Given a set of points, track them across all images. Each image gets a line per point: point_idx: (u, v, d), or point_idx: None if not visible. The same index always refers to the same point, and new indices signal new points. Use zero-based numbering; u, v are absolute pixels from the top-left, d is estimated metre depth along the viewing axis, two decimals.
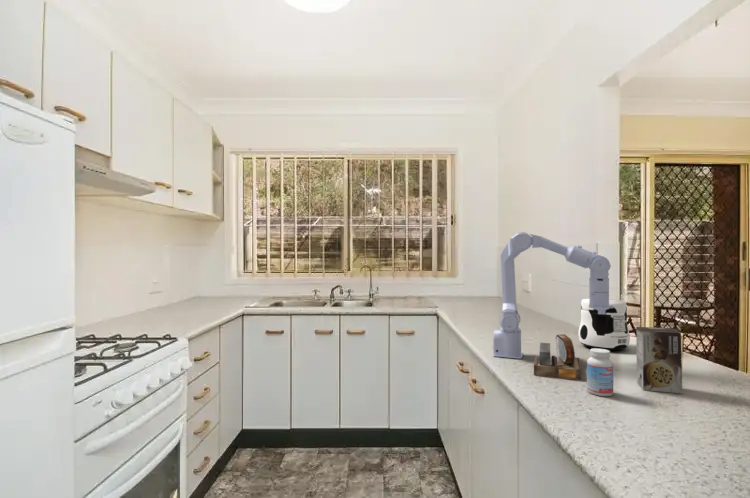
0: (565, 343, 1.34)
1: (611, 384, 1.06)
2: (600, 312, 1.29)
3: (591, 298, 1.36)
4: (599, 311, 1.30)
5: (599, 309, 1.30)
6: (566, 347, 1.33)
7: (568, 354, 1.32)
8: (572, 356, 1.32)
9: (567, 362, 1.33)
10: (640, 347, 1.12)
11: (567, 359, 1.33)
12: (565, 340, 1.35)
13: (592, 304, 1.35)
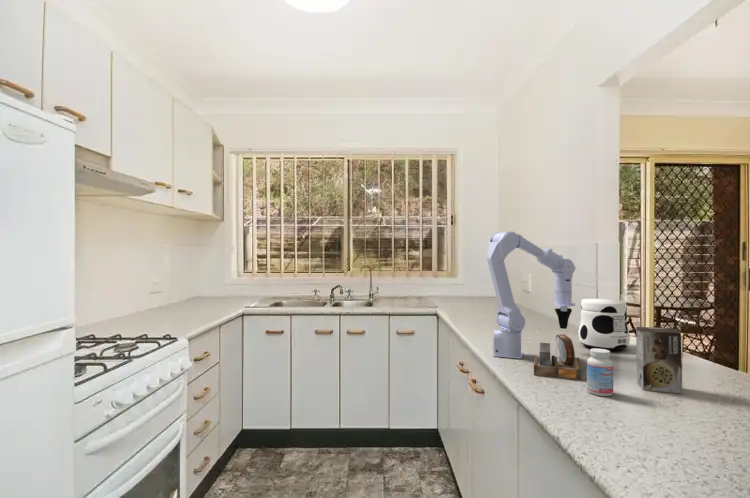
0: (565, 343, 1.34)
1: (611, 384, 1.06)
2: (562, 309, 1.45)
3: (556, 297, 1.51)
4: (561, 308, 1.45)
5: (561, 306, 1.45)
6: (566, 347, 1.33)
7: (568, 354, 1.32)
8: (572, 356, 1.32)
9: (567, 362, 1.33)
10: (640, 347, 1.12)
11: (567, 359, 1.33)
12: (565, 340, 1.35)
13: (556, 302, 1.50)
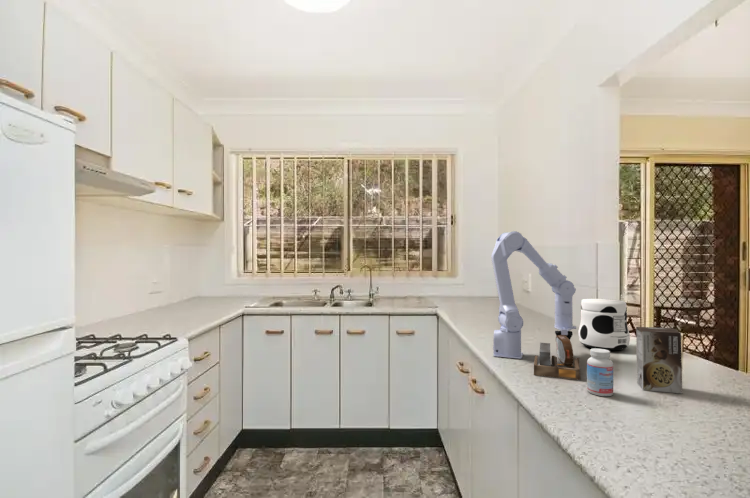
0: (564, 344, 1.33)
1: (611, 384, 1.06)
2: (563, 333, 1.40)
3: (556, 319, 1.46)
4: (562, 332, 1.40)
5: (562, 330, 1.40)
6: (565, 348, 1.32)
7: (567, 355, 1.31)
8: (571, 357, 1.31)
9: (566, 363, 1.32)
10: (640, 347, 1.12)
11: (566, 360, 1.31)
12: (564, 341, 1.34)
13: (557, 325, 1.46)
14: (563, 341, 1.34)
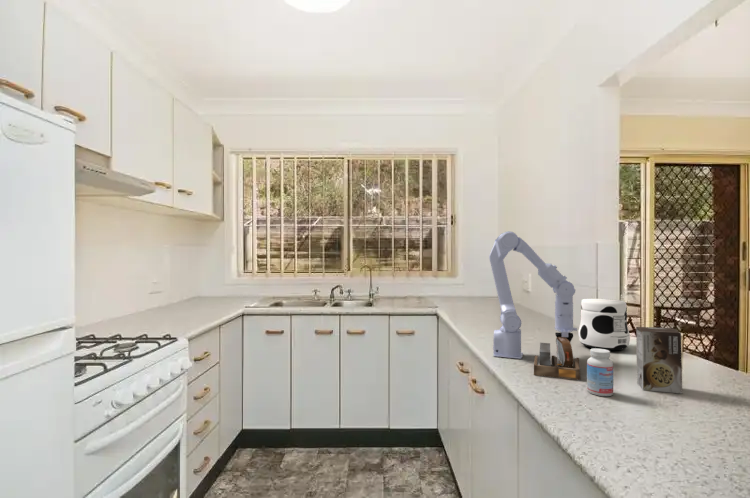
0: (563, 346, 1.30)
1: (611, 384, 1.06)
2: (563, 335, 1.37)
3: (556, 321, 1.43)
4: (562, 334, 1.37)
5: (562, 332, 1.37)
6: (564, 350, 1.29)
7: (566, 357, 1.28)
8: (571, 359, 1.28)
9: (565, 365, 1.29)
10: (640, 347, 1.12)
11: (565, 362, 1.28)
12: (564, 343, 1.31)
13: (557, 326, 1.42)
14: (563, 343, 1.31)
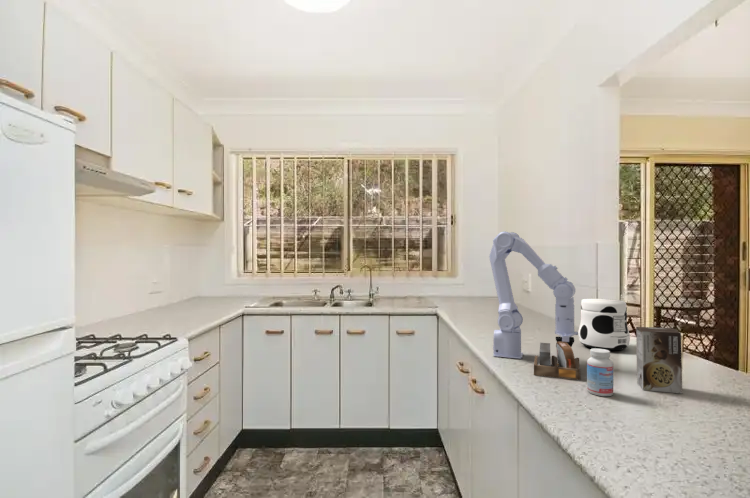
0: (565, 352, 1.23)
1: (611, 384, 1.06)
2: (564, 339, 1.30)
3: (557, 324, 1.36)
4: (563, 338, 1.30)
5: (563, 336, 1.30)
6: (566, 357, 1.22)
7: (568, 364, 1.21)
8: (573, 367, 1.21)
9: None
10: (640, 347, 1.12)
11: None
12: (565, 349, 1.24)
13: (557, 330, 1.36)
14: (564, 349, 1.24)
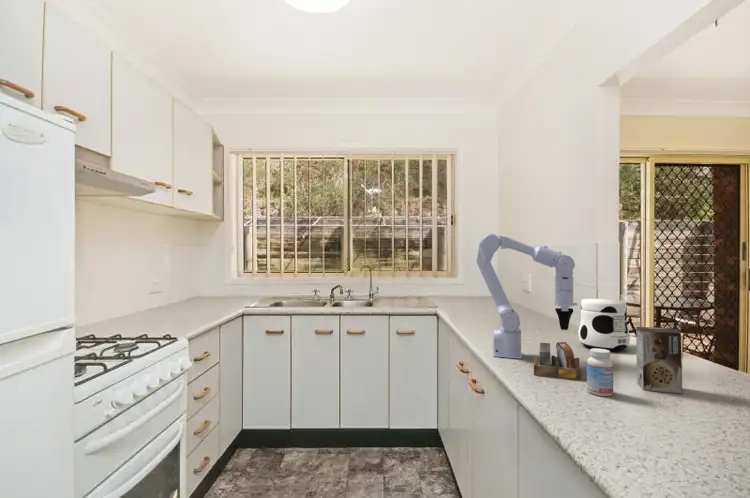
0: (565, 353, 1.23)
1: (611, 384, 1.06)
2: (563, 309, 1.35)
3: (556, 296, 1.41)
4: (562, 308, 1.35)
5: (562, 306, 1.35)
6: (566, 357, 1.22)
7: (568, 365, 1.21)
8: (573, 367, 1.21)
9: None
10: (640, 347, 1.12)
11: None
12: (565, 349, 1.24)
13: (557, 301, 1.41)
14: (564, 349, 1.24)
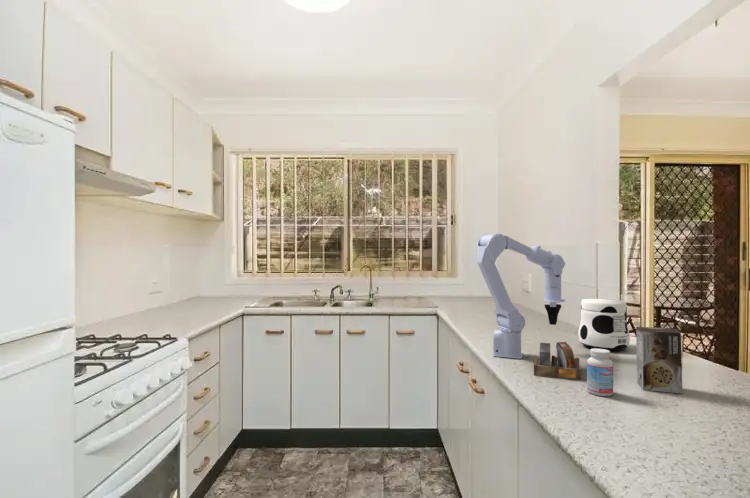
0: (565, 353, 1.23)
1: (611, 384, 1.06)
2: (551, 305, 1.44)
3: (545, 292, 1.50)
4: (550, 304, 1.44)
5: (550, 302, 1.44)
6: (566, 357, 1.22)
7: (568, 365, 1.21)
8: (573, 367, 1.21)
9: None
10: (640, 347, 1.12)
11: None
12: (565, 349, 1.24)
13: (546, 298, 1.50)
14: (564, 349, 1.24)
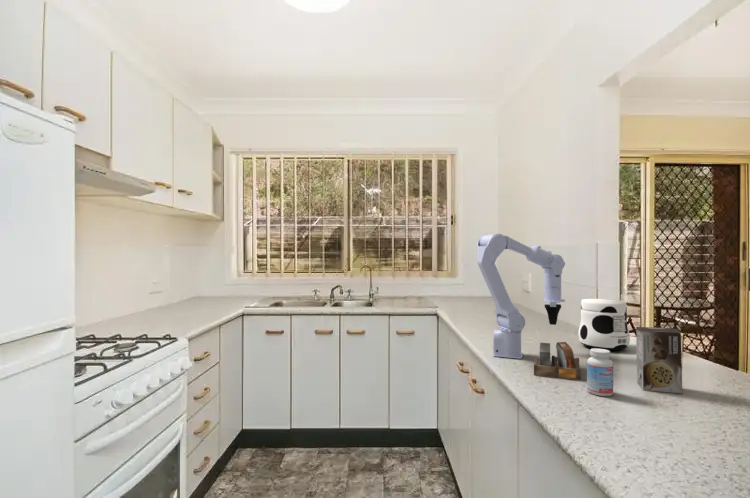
0: (565, 353, 1.23)
1: (611, 384, 1.06)
2: (551, 305, 1.44)
3: (545, 292, 1.50)
4: (550, 304, 1.44)
5: (550, 302, 1.44)
6: (566, 357, 1.22)
7: (568, 365, 1.21)
8: (573, 367, 1.21)
9: None
10: (640, 347, 1.12)
11: None
12: (565, 349, 1.24)
13: (546, 298, 1.50)
14: (564, 349, 1.24)
